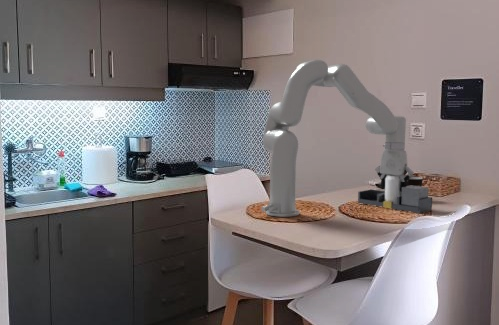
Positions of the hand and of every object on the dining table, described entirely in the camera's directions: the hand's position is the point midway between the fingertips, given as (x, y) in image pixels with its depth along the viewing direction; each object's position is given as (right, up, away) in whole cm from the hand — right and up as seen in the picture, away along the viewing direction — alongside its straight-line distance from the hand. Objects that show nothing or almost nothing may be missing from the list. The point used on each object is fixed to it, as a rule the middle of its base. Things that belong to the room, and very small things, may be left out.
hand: (393, 189), depth 203 cm
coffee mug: (+11, -6, +17) cm, 21 cm away
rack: (0, -7, +1) cm, 7 cm away
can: (0, -6, +1) cm, 6 cm away
